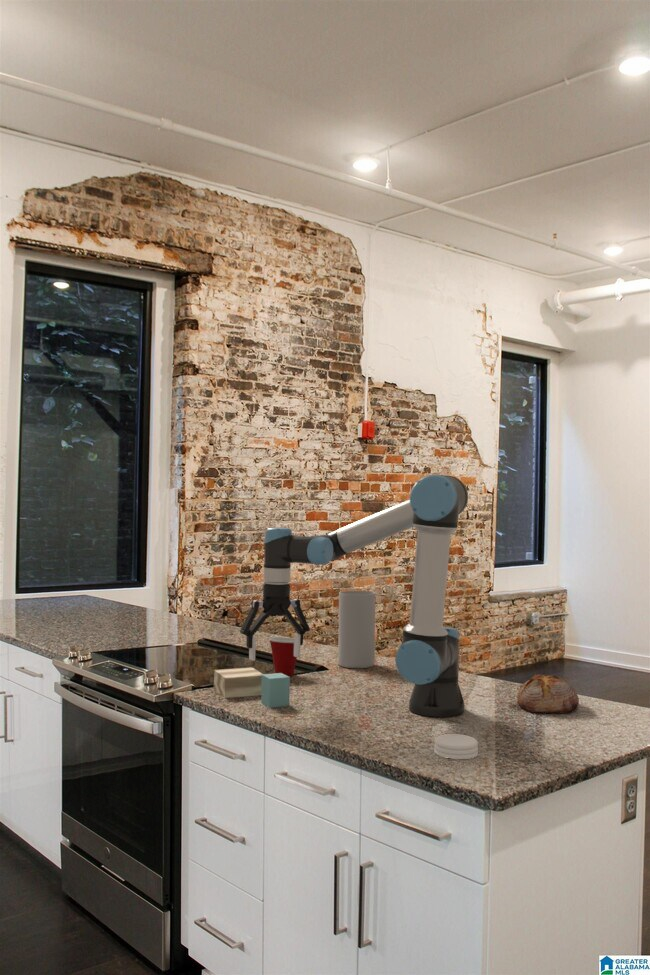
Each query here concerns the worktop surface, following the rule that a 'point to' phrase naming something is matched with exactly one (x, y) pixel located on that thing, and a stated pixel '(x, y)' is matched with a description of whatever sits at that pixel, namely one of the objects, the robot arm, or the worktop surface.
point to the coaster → (456, 746)
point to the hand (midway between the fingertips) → (274, 658)
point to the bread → (547, 695)
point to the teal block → (275, 690)
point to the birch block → (237, 682)
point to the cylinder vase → (356, 629)
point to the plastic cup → (283, 655)
